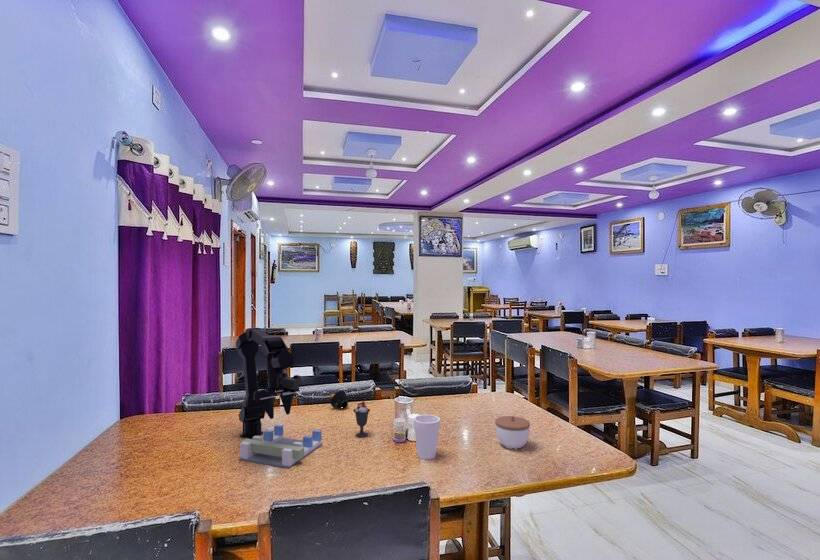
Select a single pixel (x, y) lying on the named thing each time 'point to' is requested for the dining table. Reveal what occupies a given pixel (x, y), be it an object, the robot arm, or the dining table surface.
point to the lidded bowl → (512, 431)
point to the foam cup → (426, 435)
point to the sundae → (361, 418)
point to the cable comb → (287, 454)
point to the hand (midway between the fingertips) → (280, 416)
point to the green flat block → (274, 448)
